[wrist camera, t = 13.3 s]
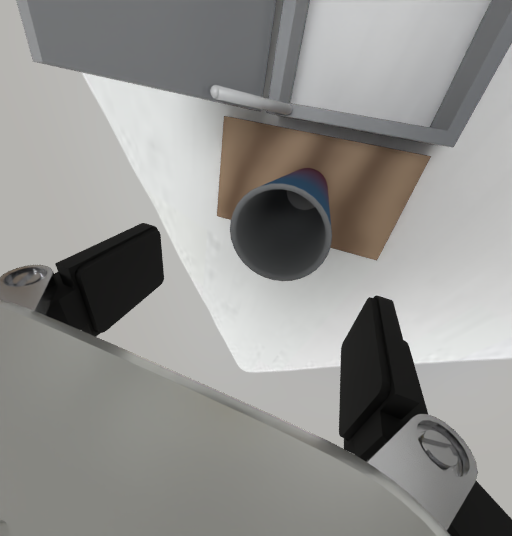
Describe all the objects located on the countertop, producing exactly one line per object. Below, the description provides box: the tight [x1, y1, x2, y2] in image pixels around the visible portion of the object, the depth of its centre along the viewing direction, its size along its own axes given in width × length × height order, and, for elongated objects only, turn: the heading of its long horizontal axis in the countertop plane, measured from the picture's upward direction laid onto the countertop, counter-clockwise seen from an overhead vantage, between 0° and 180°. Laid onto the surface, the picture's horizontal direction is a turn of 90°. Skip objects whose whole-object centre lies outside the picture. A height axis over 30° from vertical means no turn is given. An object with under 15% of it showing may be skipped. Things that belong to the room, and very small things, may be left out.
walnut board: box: [217, 116, 431, 260], centre depth 28 cm, size 22×12×1 cm, turn 80°
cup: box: [230, 168, 332, 281], centre depth 22 cm, size 7×7×15 cm
